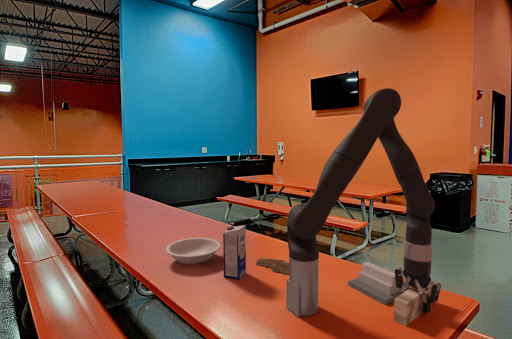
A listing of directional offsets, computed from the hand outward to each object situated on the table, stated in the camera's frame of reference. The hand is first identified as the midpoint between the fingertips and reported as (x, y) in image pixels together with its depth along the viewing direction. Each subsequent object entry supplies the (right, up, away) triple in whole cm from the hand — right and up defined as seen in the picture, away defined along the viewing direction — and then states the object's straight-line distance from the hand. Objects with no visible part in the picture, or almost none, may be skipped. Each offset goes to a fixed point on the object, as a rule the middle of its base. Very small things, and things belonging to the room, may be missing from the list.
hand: (415, 307), depth 97 cm
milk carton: (-58, +1, +26) cm, 64 cm away
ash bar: (0, -1, 0) cm, 1 cm away
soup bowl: (-77, +2, +42) cm, 88 cm away
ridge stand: (-6, 0, +14) cm, 15 cm away
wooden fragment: (-39, +2, +34) cm, 52 cm away
